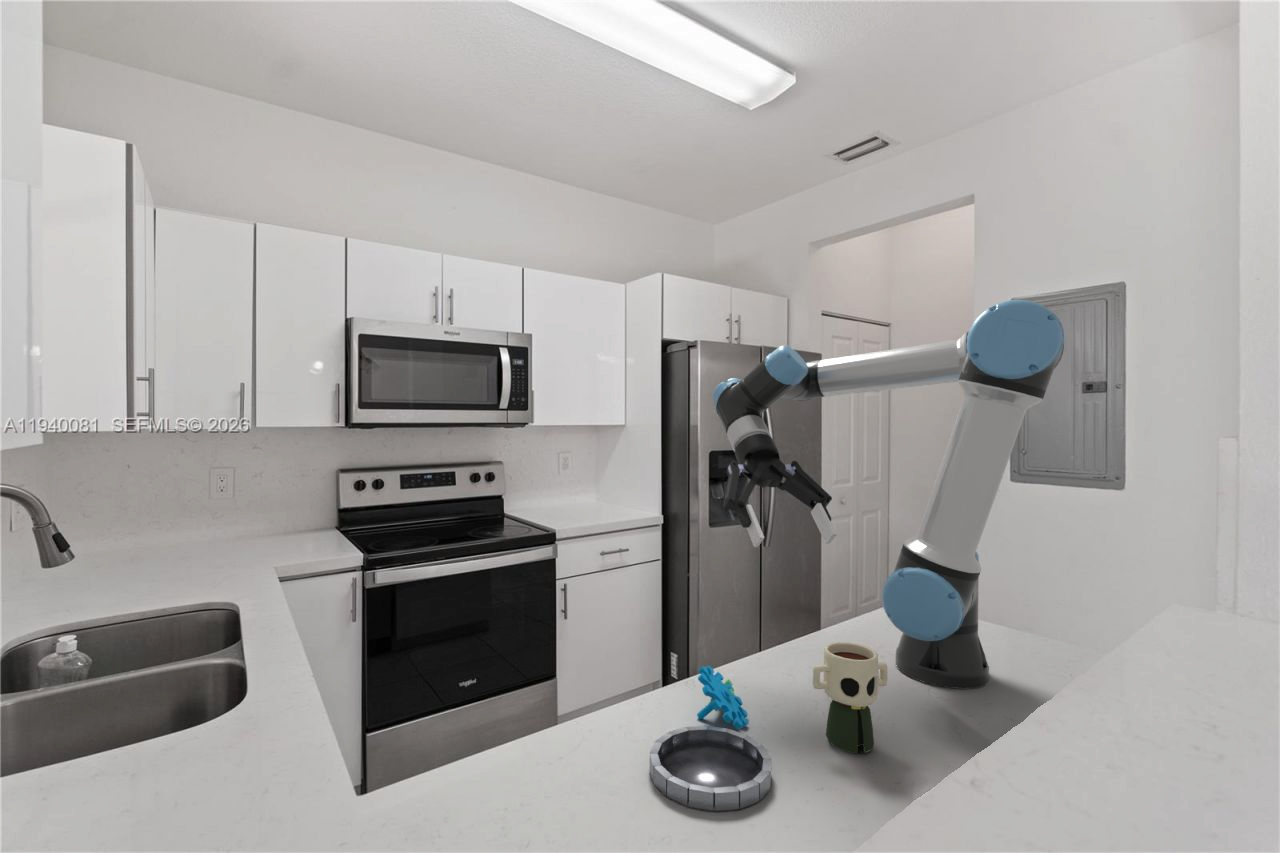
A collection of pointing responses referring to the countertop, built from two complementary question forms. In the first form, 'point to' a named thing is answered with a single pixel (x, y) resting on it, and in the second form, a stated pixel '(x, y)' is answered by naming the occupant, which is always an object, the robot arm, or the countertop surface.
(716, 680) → the gear
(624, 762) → the countertop surface
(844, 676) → the character mug
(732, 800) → the grey round tray
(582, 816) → the countertop surface
